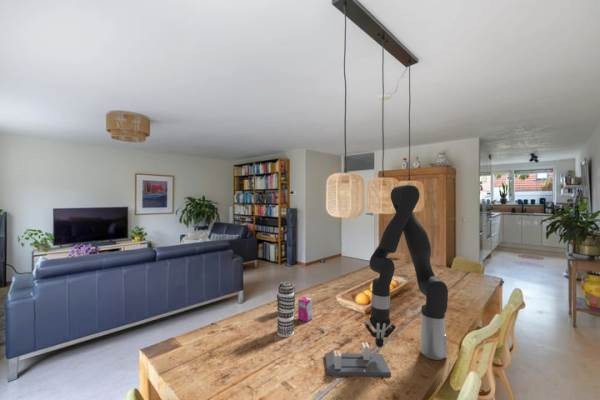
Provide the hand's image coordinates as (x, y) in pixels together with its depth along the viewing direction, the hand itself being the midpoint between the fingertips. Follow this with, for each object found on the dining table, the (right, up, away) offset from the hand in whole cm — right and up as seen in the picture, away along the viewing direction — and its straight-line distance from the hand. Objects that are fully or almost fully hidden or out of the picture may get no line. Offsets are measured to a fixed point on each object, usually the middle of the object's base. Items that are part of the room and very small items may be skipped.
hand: (379, 346), depth 111 cm
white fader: (-6, -4, 0) cm, 7 cm away
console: (-10, -6, -3) cm, 12 cm away
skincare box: (-41, -6, +48) cm, 63 cm away
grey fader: (-18, -4, -6) cm, 20 cm away
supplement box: (-30, -6, +38) cm, 49 cm away
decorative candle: (-40, -6, +23) cm, 46 cm away
